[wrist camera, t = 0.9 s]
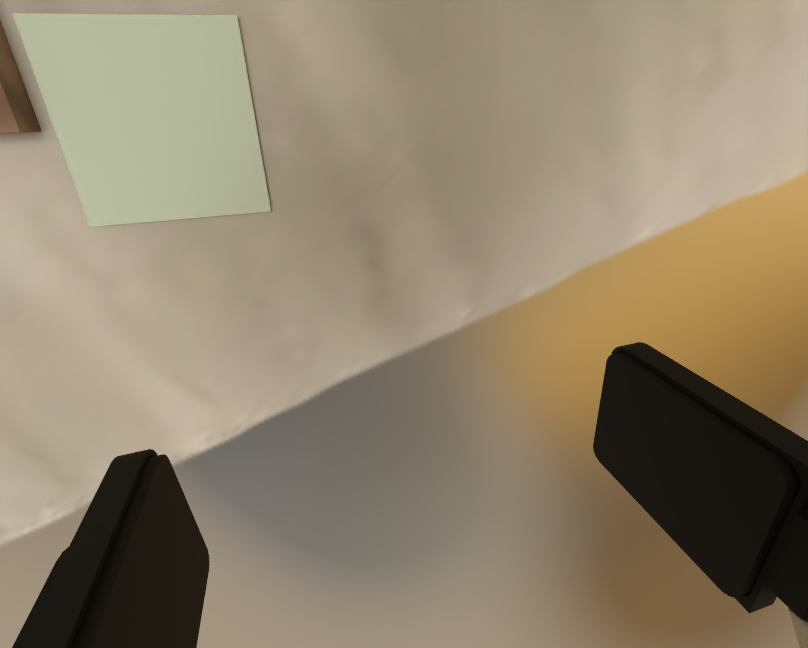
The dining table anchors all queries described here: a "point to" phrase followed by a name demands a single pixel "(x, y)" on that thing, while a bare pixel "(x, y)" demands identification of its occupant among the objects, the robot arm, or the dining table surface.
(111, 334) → the dining table surface
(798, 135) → the dining table surface
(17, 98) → the cradle board
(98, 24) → the pad
